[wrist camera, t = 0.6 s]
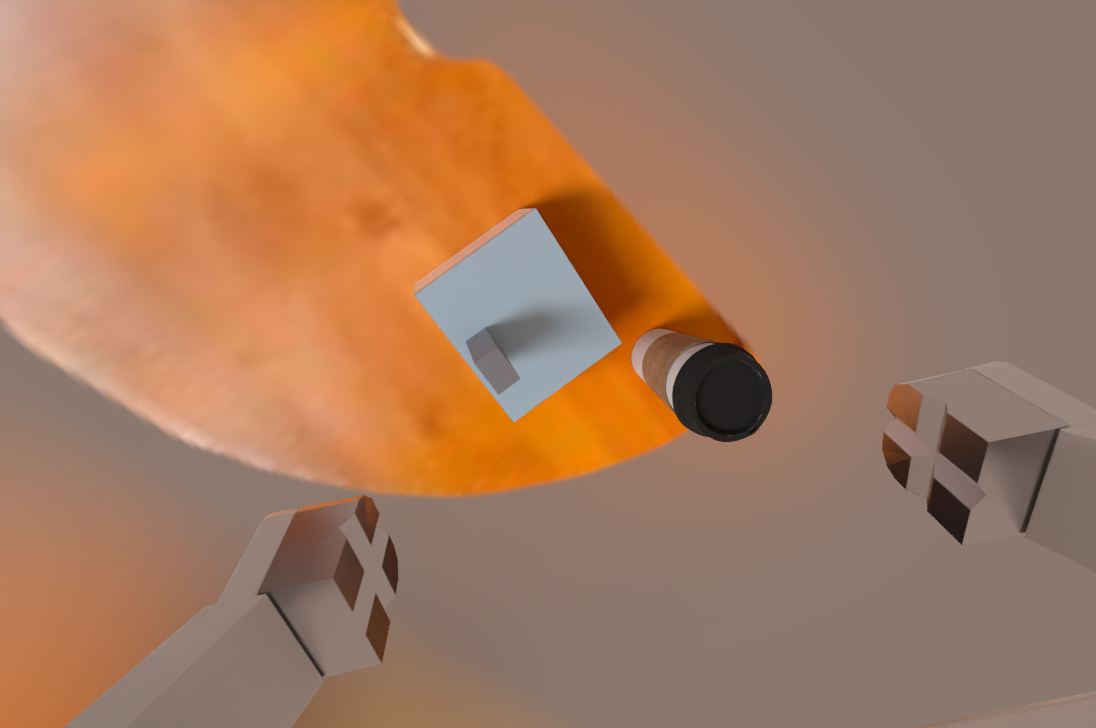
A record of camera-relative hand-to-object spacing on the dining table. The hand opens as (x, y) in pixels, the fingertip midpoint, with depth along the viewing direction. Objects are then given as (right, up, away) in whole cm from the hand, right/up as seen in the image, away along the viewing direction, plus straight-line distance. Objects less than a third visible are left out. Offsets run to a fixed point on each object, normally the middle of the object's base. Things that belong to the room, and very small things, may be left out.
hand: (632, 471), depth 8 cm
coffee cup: (+10, +3, +50) cm, 51 cm away
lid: (-4, +6, +38) cm, 38 cm away
